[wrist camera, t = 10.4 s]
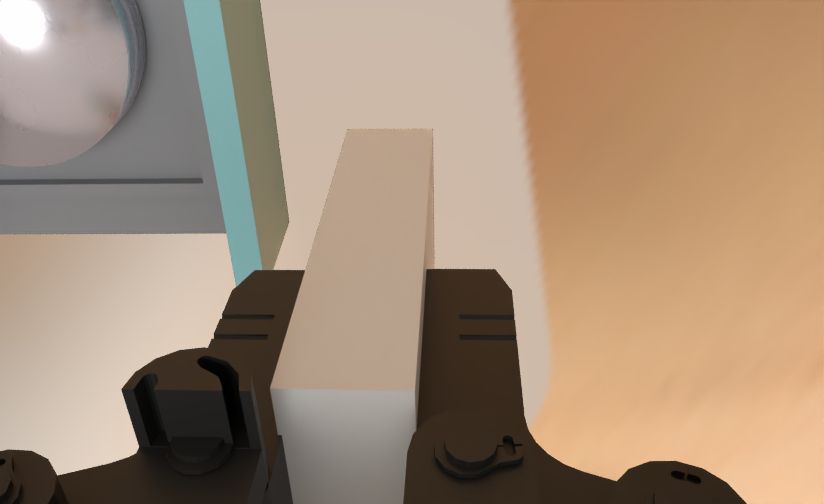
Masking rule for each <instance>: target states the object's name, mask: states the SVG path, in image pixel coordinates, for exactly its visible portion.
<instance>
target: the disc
mask: <svg viewBox="0 0 824 504" xmlns="http://www.w3.org/2000/svg"><path fill="white" fill-rule="evenodd" d="M145 60H146V45H145V35H144V29H143V23H142V20H141V16H140V13H139V9H138V6H137V4H136V1H135V0H0V164H5V165H11V166H22V167H36V166H47V165H52V164H56V163H61V162H64V161H67V160H69V159H72V158H74V157H77V156H78V155H80V154H82V153H84V152H85V151H87V150H89V149H90V148H91V147H92V146H94V145H95V144H96V143H97V142H99V141H100V140H101V139H102V138H103V137H104V136H105V135H106V134H107V133H108V132H109V131H110V130H111V129H112V128H113V127H114V126H115V125H116V124H117V123H118V122H119V121H120V120H121V118H122V117H123V116H124V115H125V114H126V113H127V112H128V110H129V109H130V107H131V105H132V104H133V102H134V101H135V99H136V96H137V94H138V92H139V89H140V87H141V83H142V79H143V75H144V70H145Z"/></svg>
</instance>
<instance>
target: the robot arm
mask: <svg viewBox="0 0 824 504" xmlns="http://www.w3.org/2000/svg"><path fill="white" fill-rule="evenodd" d="M433 189H434V187H433V129H348V130H347V132H346V136H345V139H344V142H343V146H342V149H341V153H340V156H339V159H338V162H337V166H336V169H335V173H334V176H333V179H332V183H331V186H330V189H329V193H328V197H327V199H326V203H325V206H324V209H323V213H322V216H321V220H320V223H319V226H318V229H317V233H316V236H315V239H314V243H313V246H312V250H311V253H310V256H309V259H308V263H307V266H306V270H254V271H253V272H252V273H251V274H250V275H249V276H248V277H247V278H245V279H244V280H243V281H242V282H241V283H240V284H239V285H238V286H237V287H236V288H234V289H233V290H232V292H231V295H230V297H229V299H228V302H227V304H226V306H225V309H224V311H223V313H222V319H220V321H219V323H218V325H217V328H216V330H215V332H214V339H211V342H210V344H209V346H208V348H195V349H186V350H179V351H176V352H173V353H170V354H168V355H165V356H162V357H160V358H157V359H155V360H153V361H152V362H150V363H148V364H147V365H145V366H144V367H142V368H141V369H140V370H138V371H136V372H135V373H134V374H133V376H132V377H131V378H130V379H129V380H128V382H127V383H126V384H125V385H124V387H123V388H122V393H123V396H124V399H125V402H126V405H127V409H128V412H129V415H130V419H131V421H132V425H133V428H134V431H135V434H136V438H137V441H138V444H139V449H138V451H137V453H136V454H134V455H132V456H130V457H128V458H125V459H122V460H119V461H116V462H113V463H109V464H106V465H101V466H97V467H93V468H88V469H84V470H80V471H75V472H71V473H67V474H63V475H58V476H57V474H56V472H55V471H54V469H53V467H52V465H51V464H50V462H49V460H48V459H47V458H45V457H43V456H41V455H39V454H37V453H35V452H33V451H25V450H5V451H0V504H746V502H745V501H744V500H743V499H742V498H741V497H740V496H739V495H738V494H737V493H736V492H735V491H734V490H733V489H732V488H731V487H730V485H729V484H728V483H727V482H725V481H723V480H721V479H720V478H718V477H716V476H715V475H713V474H711V473H709V472H708V471H706V470H704V469H703V468H699V467H696V466H692V465H688V464H685V463H681V462H677V461H650V462H647V463H644V464H641V465H639V466H636V467H633V468H630V469H628V470H627V471H626V472H625V473H624V475H623V476H622V477H621V478H620V479H619V480H618V481H613V480H610V479H606V478H603V477H599V476H596V475H592V474H589V473H586V472H582V471H580V470H577V469H575V468H572V467H570V466H567V465H564V464H563V463H561V462H560V461H558V460H557V459H555V458H553V457H552V456H550V455H549V454H548V453H546V452H545V451H544V450H543V449H542V448H541V447H540V446H539V445H538V444H537V443H536V441H535V440H534V438H533V437H532V435H531V433H530V432H529V430H528V427H527V424H526V420H525V417H524V407H523V398H522V387H521V377H520V368H519V358H518V347H517V340H516V327H515V320H514V308H513V297H512V290H511V289H510V288H509V287H508V285H507V284H506V283H505V281H504V280H503V279H502V277H501V276H500V275H499V274H498V272H497V271H496V270H494V269H492V270H491V269H490V270H489V269H487V270H486V269H434V190H433Z"/></svg>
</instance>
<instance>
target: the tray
mask: <svg viewBox="0 0 824 504" xmlns="http://www.w3.org/2000/svg"><path fill="white" fill-rule="evenodd" d="M135 1H136V4H137V6H138V9H139V13H140V16H141V20H142V23H143V29H144V35H145V45H146V60H145V70H144V75H143V79H142V83H141V87H140V89H139V92H138V94H137V96H136V99H135V101H134V102H133V104H132V105H131V107H130V109H129V110H128V112H127V113H126V114H125V115H124V116H123V117H122V118H121V120H120V121H119V122H118V123H117V124H116V125H115V126H114V127H113V128H112V129H111V130H110V131H109V132H108V133H107V134H106V135H105V136H104V137H103V138H102V139H101V140H100V141H99V142H97V143H96V144H95V145H94V146H92V147H91V148H90V149H89V150H87V151H85V152H84V153H82V154H80V155H78V156H77V157H74V158H72V159H69V160H67V161H64V162H61V163H56V164H52V165H47V166H36V167H22V166H11V165H5V164H0V234H157V233H158V234H163V233H164V234H171V233H174V234H176V233H178V234H179V233H180V234H181V233H227V238H228V243H229V249H230V255H231V260H232V265H233V270H234V276H235V282H236V287H237V286H238V285H239V284H240V283H241V282H242V281H243V280H244V279H245V278H247V277H248V276H249V275H250V274H251V273H252V272H253V271H254V270H273V268H274V265H275V262H276V259H277V256H278V253H279V250H280V247H281V245H282V241H283V239H284V236H285V233H286V230H287V227H288V223H289V217H288V209H287V202H286V195H285V187H284V179H283V171H282V164H281V157H280V149H279V141H278V134H277V126H276V119H275V111H274V103H273V96H272V88H271V81H270V73H269V65H268V58H267V50H266V43H265V35H264V29H263V20H262V12H261V5H260V0H135Z"/></svg>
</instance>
